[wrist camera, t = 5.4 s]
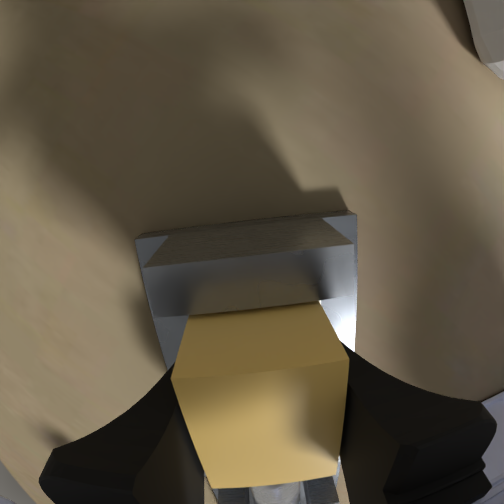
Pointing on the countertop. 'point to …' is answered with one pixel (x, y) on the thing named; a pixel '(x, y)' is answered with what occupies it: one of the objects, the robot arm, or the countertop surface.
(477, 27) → the soap bottle
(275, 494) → the shaft
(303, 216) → the metal support fixture
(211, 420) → the block
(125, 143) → the countertop surface
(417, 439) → the robot arm
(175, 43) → the countertop surface
